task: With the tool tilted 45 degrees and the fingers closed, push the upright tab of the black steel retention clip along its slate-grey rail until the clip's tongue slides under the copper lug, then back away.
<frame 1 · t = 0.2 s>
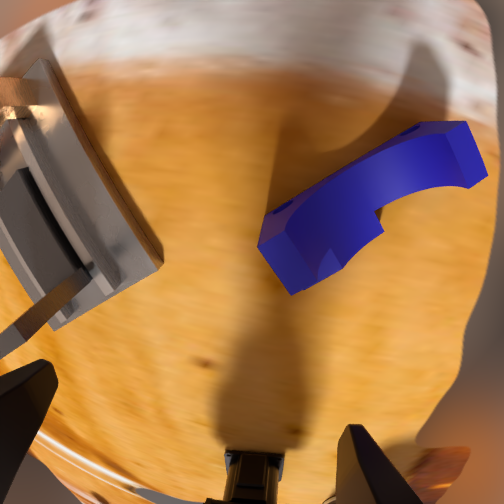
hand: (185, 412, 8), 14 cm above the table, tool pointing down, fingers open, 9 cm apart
rail base: (34, 188, 21), on the table
coffee can: (355, 501, 34), on the table
clip: (7, 255, 16), point 6 cm above the table, slide at 0.0 cm
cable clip: (361, 195, 19), on the table
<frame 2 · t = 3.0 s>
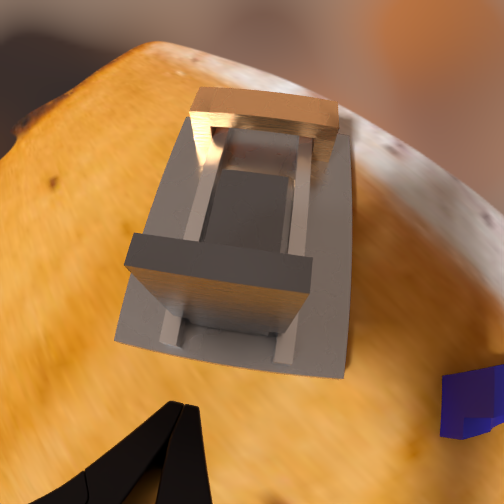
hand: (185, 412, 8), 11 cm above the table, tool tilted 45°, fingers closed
rail base: (252, 209, 23), on the table
clip: (241, 214, 16), point 6 cm above the table, slide at 0.0 cm
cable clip: (494, 394, 17), on the table
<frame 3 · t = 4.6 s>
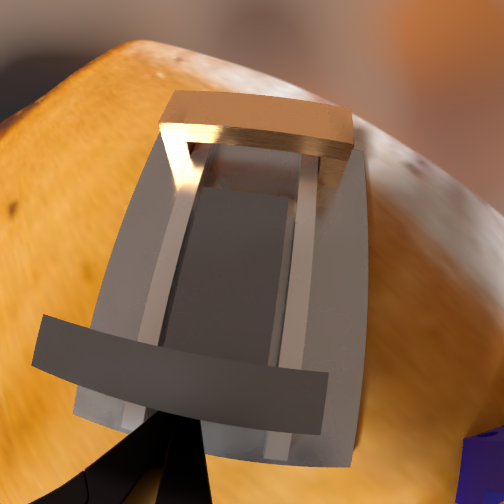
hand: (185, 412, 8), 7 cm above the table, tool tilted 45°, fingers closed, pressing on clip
rail base: (240, 250, 18), on the table
clip: (222, 258, 11), point 6 cm above the table, slide at 0.8 cm, touching gripper
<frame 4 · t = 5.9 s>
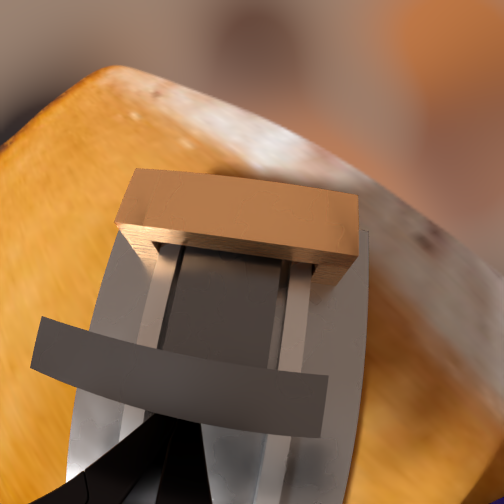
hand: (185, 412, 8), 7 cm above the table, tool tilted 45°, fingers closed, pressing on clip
rail base: (220, 362, 15), on the table
clip: (221, 259, 11), point 6 cm above the table, slide at 7.1 cm, touching gripper
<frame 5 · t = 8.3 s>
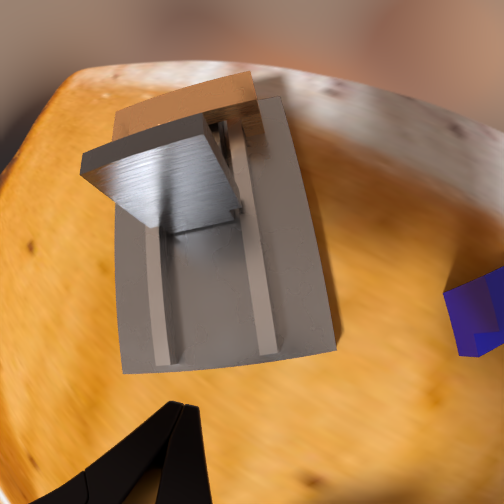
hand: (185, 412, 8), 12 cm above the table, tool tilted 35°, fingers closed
rail base: (206, 208, 23), on the table
clip: (173, 126, 18), point 6 cm above the table, slide at 7.0 cm
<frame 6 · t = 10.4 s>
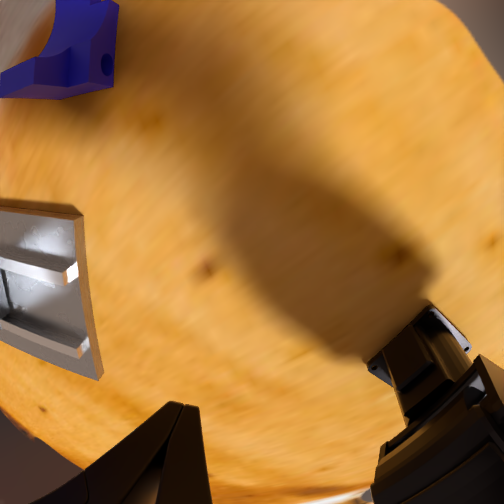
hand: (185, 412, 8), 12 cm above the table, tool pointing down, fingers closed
rail base: (2, 279, 22), on the table
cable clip: (93, 15, 15), on the table
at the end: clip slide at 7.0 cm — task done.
